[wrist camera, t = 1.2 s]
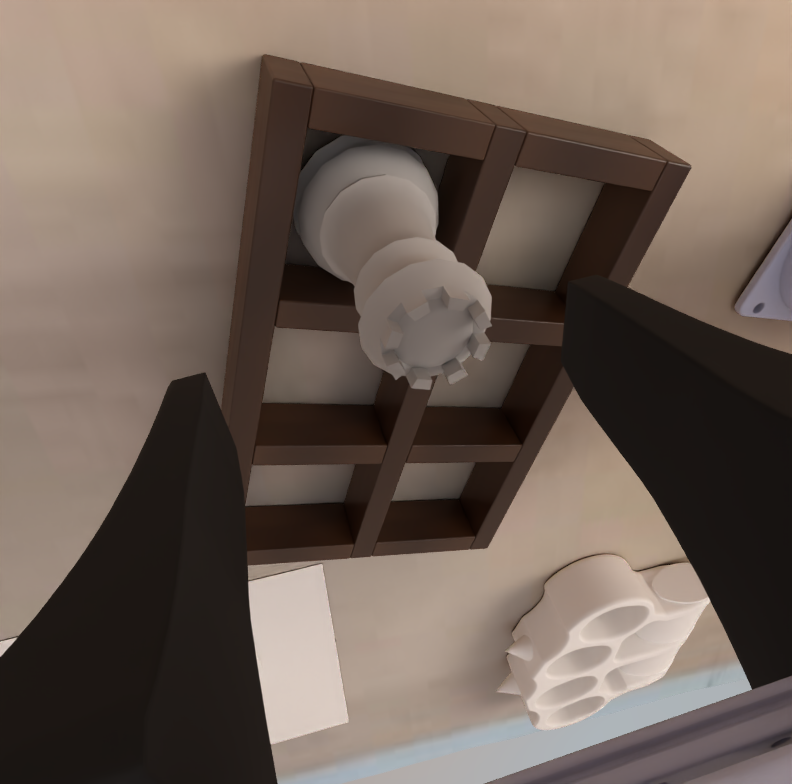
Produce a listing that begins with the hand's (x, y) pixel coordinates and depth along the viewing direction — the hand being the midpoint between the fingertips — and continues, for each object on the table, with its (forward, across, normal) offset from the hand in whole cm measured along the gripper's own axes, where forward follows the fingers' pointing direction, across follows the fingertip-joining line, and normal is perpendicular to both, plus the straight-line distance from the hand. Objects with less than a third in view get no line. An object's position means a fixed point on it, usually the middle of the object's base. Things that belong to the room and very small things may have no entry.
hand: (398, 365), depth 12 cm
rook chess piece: (+10, -1, +1) cm, 10 cm away
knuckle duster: (+10, -13, +36) cm, 39 cm away
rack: (+9, -2, +8) cm, 12 cm away
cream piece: (+10, +14, +28) cm, 33 cm away
